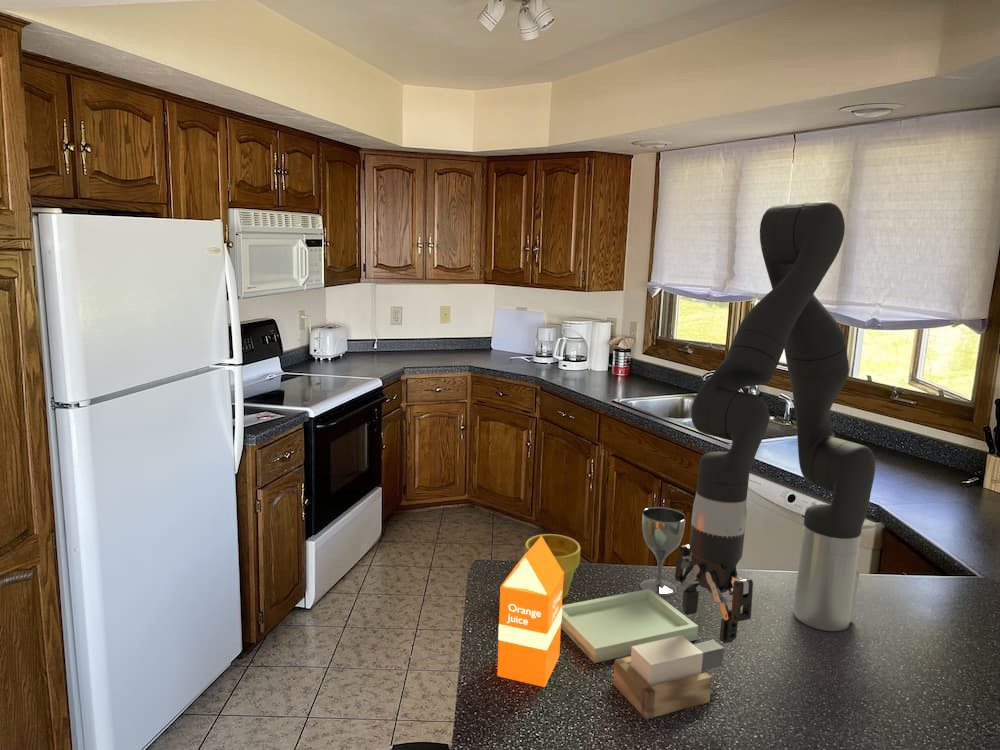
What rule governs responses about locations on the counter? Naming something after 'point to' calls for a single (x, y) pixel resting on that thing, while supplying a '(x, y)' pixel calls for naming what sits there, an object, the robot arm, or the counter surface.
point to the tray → (623, 623)
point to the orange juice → (531, 617)
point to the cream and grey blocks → (674, 659)
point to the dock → (660, 691)
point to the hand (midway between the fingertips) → (707, 626)
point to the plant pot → (561, 555)
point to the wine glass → (662, 542)
